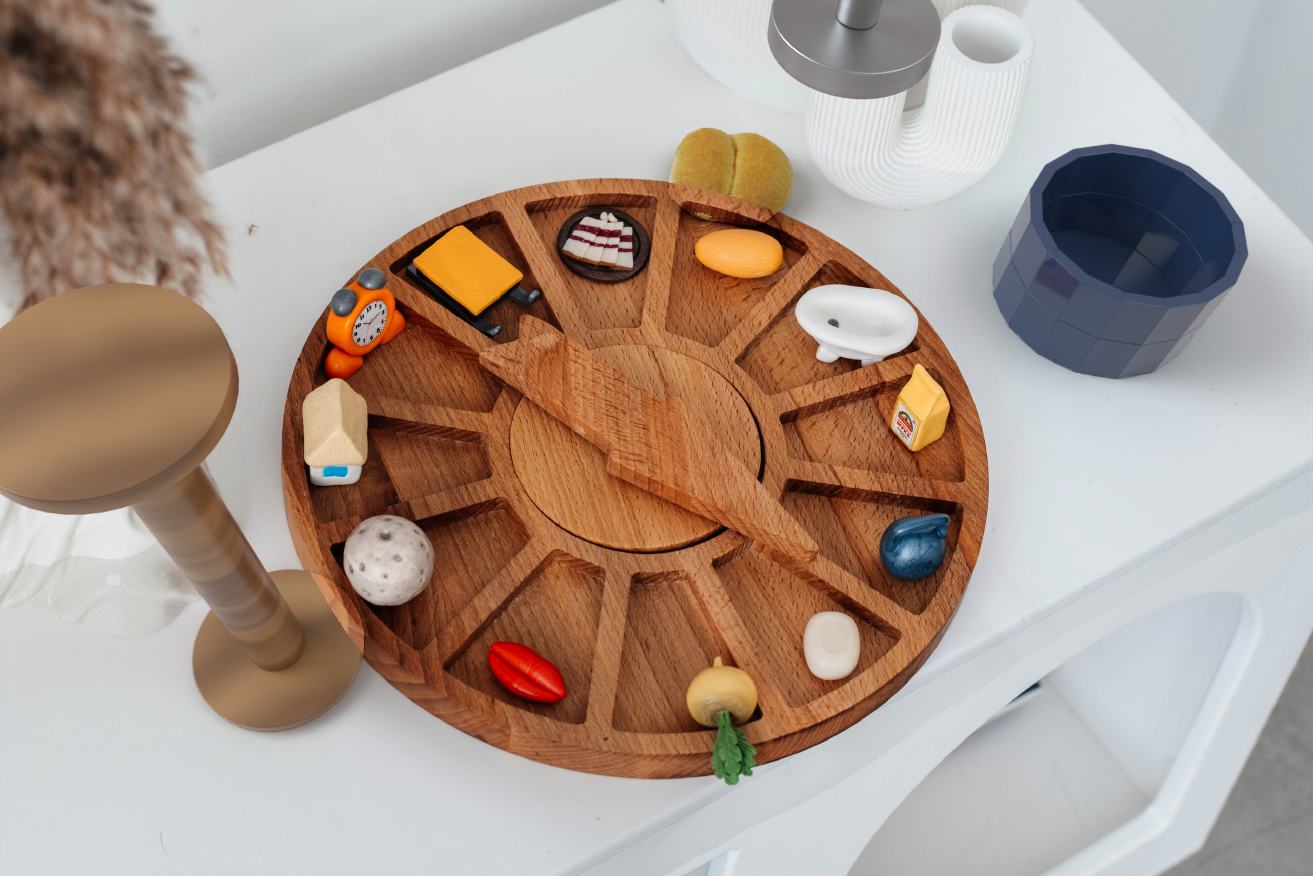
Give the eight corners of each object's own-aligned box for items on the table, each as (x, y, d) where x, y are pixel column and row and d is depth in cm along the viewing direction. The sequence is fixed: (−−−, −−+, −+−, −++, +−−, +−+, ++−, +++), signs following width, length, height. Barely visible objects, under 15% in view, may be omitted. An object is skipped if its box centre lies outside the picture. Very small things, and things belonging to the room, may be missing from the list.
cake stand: (394, 670, 59) (275, 415, 37) (239, 766, 56) (6, 551, 34) (319, 546, 62) (169, 245, 40) (169, 630, 59) (-83, 354, 37)
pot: (1227, 323, 75) (1291, 245, 68) (1094, 415, 70) (1148, 342, 63) (1082, 200, 80) (1128, 117, 73) (950, 278, 75) (986, 197, 68)
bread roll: (786, 239, 76) (795, 199, 73) (661, 222, 77) (664, 181, 73) (794, 156, 81) (803, 115, 77) (675, 140, 81) (679, 98, 77)
